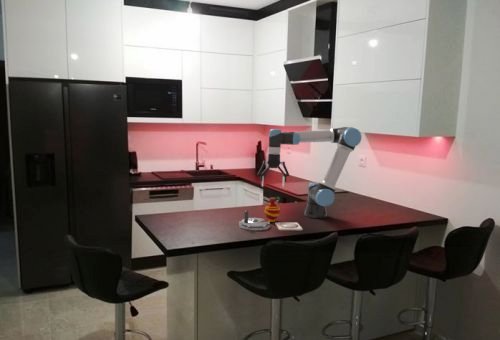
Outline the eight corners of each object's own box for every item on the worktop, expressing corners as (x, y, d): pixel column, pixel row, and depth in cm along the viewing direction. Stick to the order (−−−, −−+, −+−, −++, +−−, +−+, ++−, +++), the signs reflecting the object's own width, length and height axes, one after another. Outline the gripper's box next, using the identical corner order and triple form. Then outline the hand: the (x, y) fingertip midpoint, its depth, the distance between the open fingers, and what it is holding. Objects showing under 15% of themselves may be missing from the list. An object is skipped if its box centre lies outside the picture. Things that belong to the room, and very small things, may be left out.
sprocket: (274, 225, 250) (275, 211, 249) (253, 229, 240) (253, 214, 238) (255, 219, 264) (256, 205, 263) (234, 222, 254) (234, 208, 253)
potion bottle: (268, 218, 274) (269, 195, 272) (282, 220, 269) (283, 197, 267) (260, 221, 265) (261, 198, 263) (275, 223, 260) (276, 200, 258)
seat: (297, 224, 261) (297, 222, 261) (302, 230, 247) (302, 228, 247) (275, 224, 259) (275, 222, 259) (279, 230, 245) (279, 228, 245)
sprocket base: (267, 222, 263) (267, 220, 263) (272, 230, 244) (272, 229, 244) (237, 222, 260) (237, 220, 260) (240, 230, 242) (240, 229, 242)
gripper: (292, 153, 266) (290, 185, 269) (254, 152, 264) (252, 185, 266) (294, 154, 259) (293, 187, 262) (255, 153, 256) (254, 187, 259)
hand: (272, 186), depth 264 cm, fingers open, 13 cm apart
